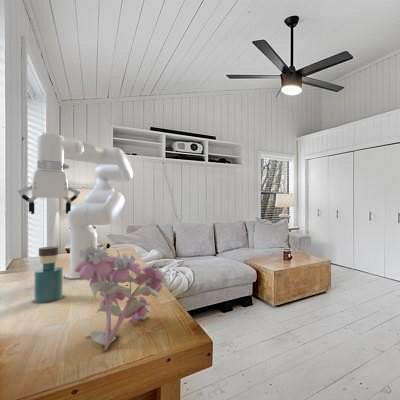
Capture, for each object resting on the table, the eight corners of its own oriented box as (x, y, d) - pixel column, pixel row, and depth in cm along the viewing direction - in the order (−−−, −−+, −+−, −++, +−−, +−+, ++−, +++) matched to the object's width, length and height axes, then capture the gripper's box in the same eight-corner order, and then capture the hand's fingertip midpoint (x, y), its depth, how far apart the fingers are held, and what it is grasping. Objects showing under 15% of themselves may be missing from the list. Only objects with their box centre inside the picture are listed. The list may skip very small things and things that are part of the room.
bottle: (50, 294, 103) (50, 252, 103) (67, 296, 102) (68, 253, 102) (28, 302, 96) (28, 256, 96) (47, 303, 95) (47, 257, 94)
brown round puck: (50, 253, 101) (50, 246, 101) (63, 253, 101) (63, 246, 101) (34, 255, 96) (34, 248, 96) (47, 256, 95) (47, 249, 95)
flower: (188, 330, 74) (179, 236, 83) (78, 355, 57) (82, 235, 66) (156, 341, 85) (151, 258, 94) (57, 364, 69) (62, 261, 78)
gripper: (79, 169, 116) (79, 212, 116) (19, 166, 105) (18, 213, 105) (80, 168, 110) (80, 213, 110) (17, 164, 99) (16, 214, 99)
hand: (50, 213), depth 108 cm, fingers open, 9 cm apart
